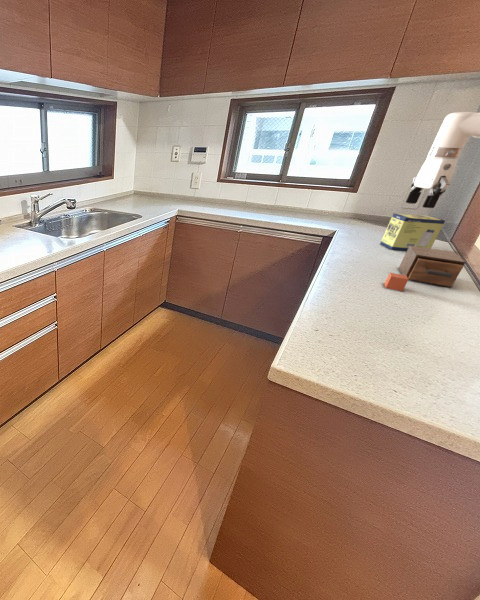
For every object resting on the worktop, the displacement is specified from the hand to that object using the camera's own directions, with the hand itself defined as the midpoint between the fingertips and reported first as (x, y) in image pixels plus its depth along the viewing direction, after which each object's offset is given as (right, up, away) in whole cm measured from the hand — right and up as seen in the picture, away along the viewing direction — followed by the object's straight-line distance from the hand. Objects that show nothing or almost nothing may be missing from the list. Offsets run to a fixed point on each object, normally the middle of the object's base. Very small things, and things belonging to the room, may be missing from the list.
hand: (418, 205), depth 118 cm
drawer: (+5, -27, +2) cm, 28 cm away
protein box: (+35, -9, +41) cm, 55 cm away
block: (-13, -30, -4) cm, 33 cm away
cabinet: (+8, -26, +6) cm, 28 cm away
